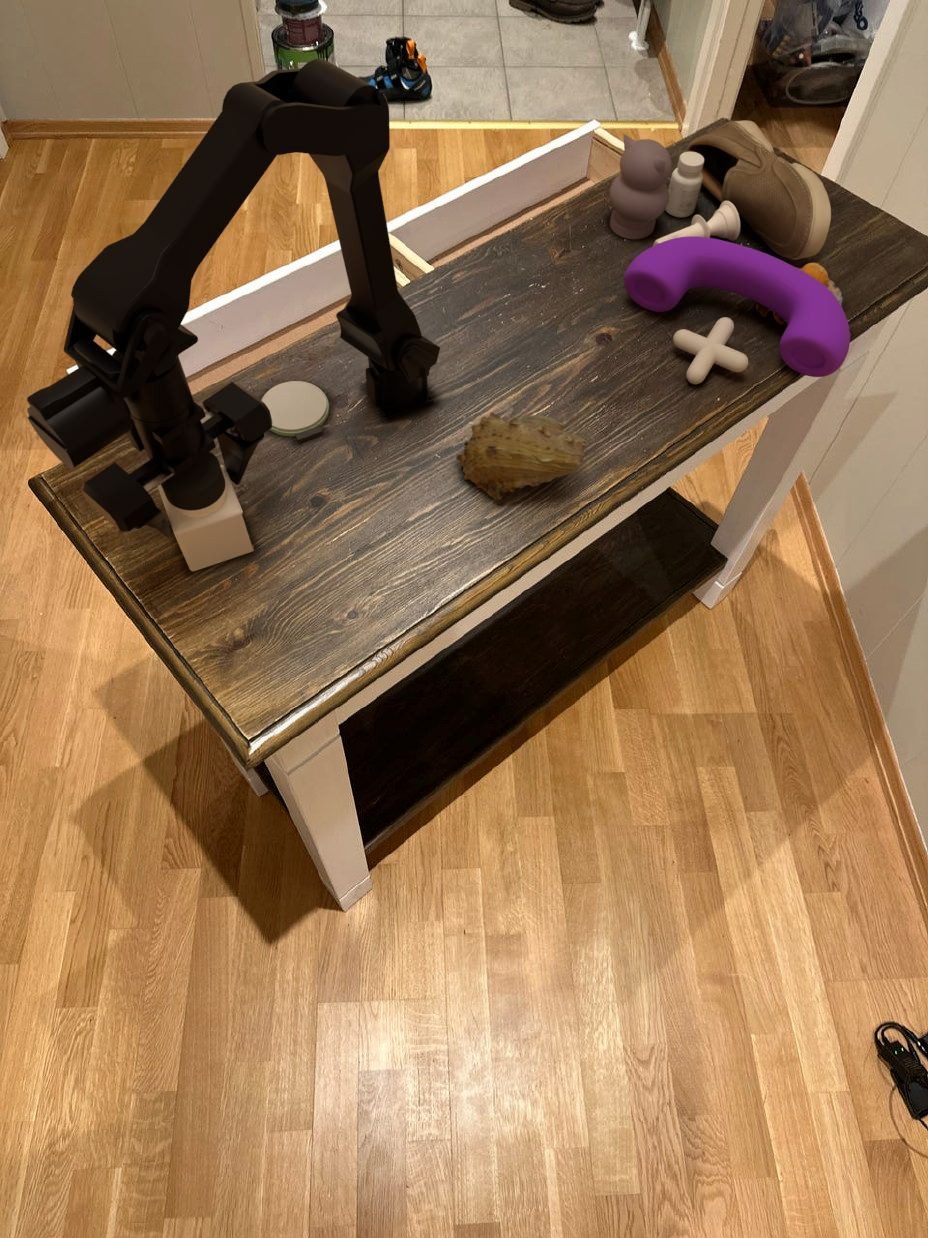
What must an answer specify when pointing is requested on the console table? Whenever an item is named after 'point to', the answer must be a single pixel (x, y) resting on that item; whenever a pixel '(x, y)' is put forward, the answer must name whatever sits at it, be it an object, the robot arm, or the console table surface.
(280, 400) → the scale
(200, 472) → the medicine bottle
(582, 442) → the seashell
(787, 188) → the slip on shoe
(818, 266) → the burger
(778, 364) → the console table surface
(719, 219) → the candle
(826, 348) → the purple telephone handset
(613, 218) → the cat figurine
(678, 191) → the pill bottle
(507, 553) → the console table surface
